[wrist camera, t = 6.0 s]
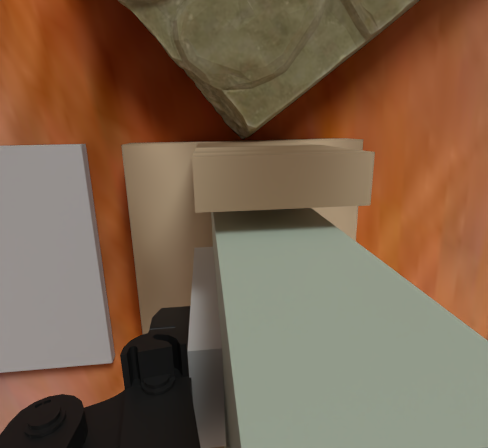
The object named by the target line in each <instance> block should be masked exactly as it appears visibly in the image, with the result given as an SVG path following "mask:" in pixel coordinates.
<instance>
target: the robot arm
mask: <svg viewBox="0 0 488 448" xmlns="http://www.w3.org/2000/svg"><path fill="white" fill-rule="evenodd" d="M120 357H121V364H122V371H123V378H124V386H125V390H124V391H123V392H121V393H120V394H118V395H116V396H115V397H113V398H110V399H108V400H105V401H103V402H100V403H97V404H94V405H91V406H88V407H85V408H84V407H83V404H82V401H81V400H79V399H78V398H76V397H75V396H72V395H64V394H61V395H55V396H49V397H47V398H44V399H42V400H39V401H37V402H34V403H33V404H31V405H30V406H28V407H26V408H25V409H23V410H22V411H20V412H19V413H18V414H17V415H16V416H15V417H14V418H13V419H12V420H11V421H10V423H9V424H8V425H7V427H6V428H5V429H4V431H3V432H2V433H1V434H0V448H213V447H221V446H226V437H225V412H224V387H223V362H222V343H221V332H220V320H219V309H218V297H217V285H216V274H215V262H214V251H213V247H198V248H194V261H193V276H192V291H191V306H183V307H169V308H161V309H160V310H159V311H158V312H157V313H156V314H155V315H154V316H153V317H152V320H151V324H150V330H149V332H148V333H146V334H143V335H140V336H138V337H136V338H135V339H133V340H131V341H130V342H129V343H128V344H127V345H126V346H125V347H124V348H123V350H122V352H121V355H120Z"/></svg>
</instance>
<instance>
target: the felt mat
mask: <svg viewBox="0 0 488 448" xmlns="http://www.w3.org/2000/svg"><path fill="white" fill-rule="evenodd" d="M114 357H115V351H114V344H113V337H112V330H111V323H110V316H109V308H108V301H107V294H106V287H105V280H104V273H103V265H102V258H101V251H100V244H99V237H98V230H97V222H96V215H95V208H94V201H93V194H92V187H91V179H90V172H89V165H88V158H87V151H86V144H63V145H18V146H0V373H3V372H14V371H26V370H38V369H49V368H61V367H72V366H84V365H95V364H107V363H112V362H113V360H114Z"/></svg>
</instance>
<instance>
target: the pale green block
mask: <svg viewBox="0 0 488 448" xmlns="http://www.w3.org/2000/svg"><path fill="white" fill-rule="evenodd" d="M211 217H212V240H213V251H214V262H215V274H216V285H217V297H218V309H219V320H220V332H221V343H222V362H223V387H224V412H225V437H226V446H224V448H488V341H487V340H486V339H485V338H483V337H482V336H481V335H479V334H478V333H477V332H475V331H474V330H473V329H471V328H470V327H469V326H467V325H466V324H465V323H463V322H462V321H461V320H459V319H458V318H457V317H455V316H454V315H453V314H451V313H450V312H449V311H447V310H446V309H445V308H443V307H442V306H441V305H440V304H438V303H437V302H436V301H434V300H433V299H432V298H430V297H429V296H428V295H426V294H425V293H424V292H422V291H421V290H420V289H418V288H417V287H416V286H414V285H413V284H412V283H410V282H409V281H408V280H406V279H405V278H404V277H402V276H401V275H400V274H398V273H397V272H396V271H394V270H393V269H392V268H390V267H389V266H388V265H386V264H385V263H384V262H382V261H381V260H380V259H378V258H377V257H376V256H374V255H373V254H372V253H370V252H369V251H368V250H366V249H365V248H364V247H362V246H361V245H360V244H359V243H357V242H356V241H355V240H353V239H352V238H351V237H349V236H348V235H347V234H345V233H344V232H343V231H341V230H340V229H339V228H337V227H336V226H335V225H333V224H332V223H331V222H329V221H328V220H327V219H325V218H324V217H323V216H321V215H320V214H319V213H317V212H316V211H315V210H313V209H312V208H296V209H273V210H250V211H227V212H211Z"/></svg>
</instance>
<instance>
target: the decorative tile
mask: <svg viewBox="0 0 488 448" xmlns="http://www.w3.org/2000/svg"><path fill="white" fill-rule="evenodd" d="M118 1H119V2H120V3H121V4H122V5H124V6H125V7H127V8H128V9H130V10H131V11H132V12H133V13H134V14H135V15H136V16H137V17H138V19H139V20H140V21H141V22H142V23H143V24H144V26H145V27H146V28H147V29H148V30H149V31H150V32H151V33H152V35H154V36H155V37H156V39H157V40H158V41H159V43H160V44H161V45H162V47H163V48H164V49H165V51H166V52H167V54H168V55H169V56H170V58H171V59H172V60H173V61H174V62H175V63H176V64H177V65H178V66H179V67H180V68H182V69H184V71H185V72H186V74H187V75H188V76H189V77H190V78H191V79H192V80H193V81H194V82H195V85H196V87H197V88H198V89H199V90H200V91H201V92H202V94H203V95H204V97H205V98H206V99H207V100H208V101H209V102H210V103H211V104H212V105H213V107H214V108H215V110H216V112H217V113H219V114H220V115H221V116H222V118H223V120H224V122H225V123H226V124H227V125H228V126H229V127H230V128H231V129H232V130H233V131H234V132H235V133H236V134H237V135H238V136H239V137H240V138H241V139H245V138H248V137H249V136H251V135H252V134H253V133H254V132H256V131H257V130H258V129H260V128H261V127H262V126H263V125H265V124H266V123H267V122H268V121H270V120H271V119H272V118H274V117H275V116H276V115H277V114H279V113H280V112H281V111H283V110H284V109H285V108H286V107H288V106H289V105H290V104H291V103H293V102H294V101H295V100H297V99H298V98H299V97H300V96H302V95H303V94H304V93H305V92H307V91H308V90H309V89H310V88H312V87H313V86H314V85H315V84H317V83H318V82H319V81H320V80H322V79H323V78H324V77H325V76H327V75H328V74H329V73H330V72H332V71H333V70H334V69H335V68H337V67H338V66H339V65H340V64H342V63H343V62H344V61H346V60H347V59H348V58H349V57H351V56H352V55H353V54H354V53H356V52H357V51H358V50H359V49H361V48H362V47H363V46H365V45H366V44H367V43H368V42H370V41H371V40H372V39H373V38H375V37H376V36H377V35H378V34H380V33H381V32H382V31H383V30H384V29H386V28H387V27H388V26H389V25H391V24H392V23H393V22H394V21H395V20H397V19H398V18H399V17H400V16H401V15H403V14H404V13H405V12H406V11H408V10H409V9H410V8H411V7H412V6H414V5H415V4H416V3H417V2H418V1H420V0H118Z"/></svg>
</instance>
